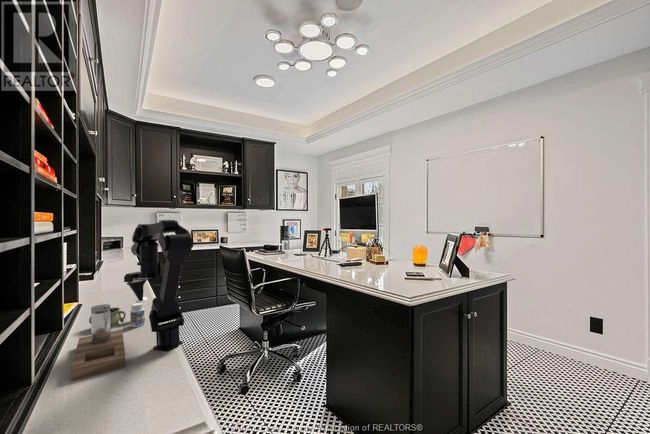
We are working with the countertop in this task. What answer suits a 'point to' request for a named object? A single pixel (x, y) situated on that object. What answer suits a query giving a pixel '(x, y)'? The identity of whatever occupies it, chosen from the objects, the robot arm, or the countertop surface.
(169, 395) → the countertop surface
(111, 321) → the vessel
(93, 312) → the silver cylindrical piece
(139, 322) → the pill bottle
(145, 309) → the white supplement bottle
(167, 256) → the robot arm
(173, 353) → the countertop surface
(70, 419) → the countertop surface
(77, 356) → the plate
